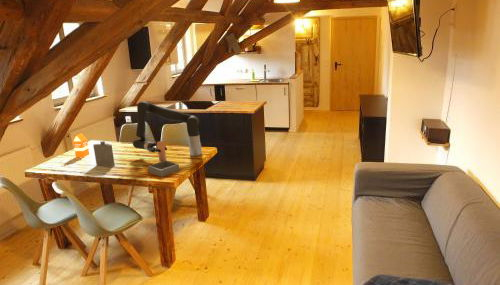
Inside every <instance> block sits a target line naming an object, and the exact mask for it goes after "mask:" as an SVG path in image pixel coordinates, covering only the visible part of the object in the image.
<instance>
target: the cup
mask: <svg viewBox="0 0 500 285" xmlns="http://www.w3.org/2000/svg"><path fill="white" fill-rule="evenodd" d="M156 144H157V147H158V149H160V150H161V152H157V154H158V161H159V162H162V161H165V160H167V155H166V150H165V146H166V144H165V141H163V140H159V141H157V142H156Z"/></svg>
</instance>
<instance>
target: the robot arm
mask: <svg viewBox="0 0 500 285" xmlns="http://www.w3.org/2000/svg"><path fill="white" fill-rule="evenodd" d="M136 108H137V110H136V111H137V124H136V130H135V131H136V133H135V135H136V137H137V138H140V139H134V140H133V142H132V146H133V147H134V148H135V149H140V150H146V151H148V152H149V153H158V152H161V150H160V149H158V147H157V142H153V141H147V140H146V127H147V126H146V115H147V113H150V114H155V115H157V116H158V117H159V118H162V119H164V120H166V121H172V122H180V123H181V122H182V123H185V124H186V129H187V130H186V131H187V132H186V133H187V134H188V135H187V136H188V148H189V149H188V150H189V156H191V157H198V156H200V155H202V154H203V153H202V152H203V151H202V142H201V139H200V138H201V137H200V131H199V123H200V120H199V117H198V116H196V115H192V114H187V113H183V112H181V111H177V110H174V109H171V108H168V107H164V106H160V105H156V104H154V103H152V102H149V101H145V100H143V101H140V102H138V104H137V106H136ZM165 151H168V147H167V146H166V145H165Z"/></svg>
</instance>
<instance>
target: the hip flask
mask: <svg viewBox="0 0 500 285" xmlns="http://www.w3.org/2000/svg"><path fill="white" fill-rule="evenodd" d="M92 147H93V151H94V157H95V163H96V167H111V168H113V167H115V156H114V153H113V145H112V144H110V143H106V141H104V140H102V141H100V142H99V143H95V144H93V146H92Z"/></svg>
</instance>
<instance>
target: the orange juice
mask: <svg viewBox="0 0 500 285" xmlns="http://www.w3.org/2000/svg"><path fill="white" fill-rule="evenodd" d="M72 145H73V148H74V154H75V158H76V157H84V158H86V157H88V156H89V155H90V151H89V144H88V139H87V138H86V136H85V135H84V134H83V133H82V132H80V133H78V134H76V135H75V137H74V139H73V144H72ZM87 155H88V156H87ZM85 156H86V157H85Z"/></svg>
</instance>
